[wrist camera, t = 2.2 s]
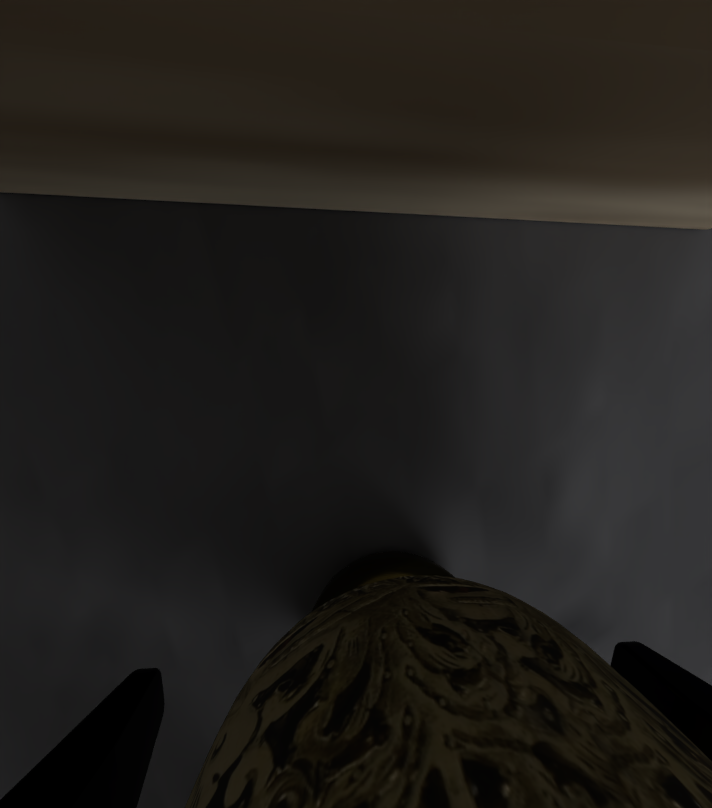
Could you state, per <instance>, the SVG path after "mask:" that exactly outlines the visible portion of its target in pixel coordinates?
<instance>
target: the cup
mask: <svg viewBox="0 0 712 808" xmlns="http://www.w3.org/2000/svg"><path fill="white" fill-rule="evenodd" d="M185 808H712V761H711V760H710V759H709V758H708V757H707V756H706V755H705V754H704V753H703V752H702V751H701V750H700V749H699V748H698V747H697V746H696V745H695V744H694V743H693V742H692V741H691V740H690V739H689V738H688V737H686V736H685V735H684V734H683V733H682V732H681V731H680V730H679V729H678V728H677V727H676V726H675V725H674V724H673V723H672V722H671V721H670V720H669V719H668V718H667V717H666V716H664V715H663V714H662V713H661V712H660V711H659V710H658V709H657V708H656V707H655V706H654V705H653V704H652V703H651V702H650V701H649V700H648V699H647V698H646V697H645V696H643V695H642V694H641V693H640V692H639V691H638V690H637V689H636V688H635V687H634V686H632V685H631V684H630V683H629V682H628V681H627V680H626V679H625V678H623V677H622V676H621V675H620V674H619V673H618V672H617V671H616V670H614V669H613V668H612V667H611V666H610V665H609V664H608V663H607V662H605V661H604V660H603V659H602V658H601V657H600V656H599V655H598V654H596V653H595V652H594V651H593V650H592V649H591V648H590V647H589V646H587V645H586V644H585V643H584V642H582V641H581V640H580V639H578V638H577V637H576V636H575V635H573V634H572V633H571V632H569V631H568V630H567V629H566V628H564V627H563V626H562V625H560V624H559V623H558V622H556V621H555V620H553V619H552V618H550V617H549V616H547V615H546V614H544V613H543V612H541V611H539V610H537V609H536V608H534V607H532V606H530V605H529V604H527V603H525V602H523V601H521V600H519V599H517V598H515V597H513V596H511V595H509V594H507V593H505V592H503V591H500V590H497V589H494V588H492V587H489V586H486V585H482V584H479V583H476V582H472V581H468V580H464V579H459V578H455V577H454V576H453V575H452V574H450V573H449V572H448V571H447V570H445V569H444V568H442V567H441V566H439V565H438V564H436V563H435V562H433V561H431V560H429V559H427V558H425V557H422V556H420V555H417V554H413V553H408V552H401V551H388V552H380V553H375V554H371V555H368V556H365V557H362V558H360V559H358V560H356V561H354V562H352V563H351V564H349V565H347V566H346V567H345V568H343V569H342V570H341V571H339V572H338V573H337V574H336V575H335V576H334V577H333V578H332V580H331V581H330V582H329V583H328V584H327V586H326V587H325V589H324V590H323V592H322V593H321V595H320V597H319V599H318V600H317V602H316V604H315V606H314V608H313V610H312V612H311V613H310V614H308V615H307V616H306V617H305V618H303V619H302V620H301V621H299V622H298V623H297V624H296V625H295V626H294V627H293V628H292V629H291V630H290V631H289V632H288V633H287V634H286V635H285V636H283V637H282V638H281V639H280V640H279V641H278V642H277V643H276V644H275V645H274V646H273V648H272V649H271V650H270V651H269V652H268V654H267V655H266V656H265V657H264V658H263V660H262V661H261V662H260V664H259V665H258V667H257V668H256V669H255V671H254V672H253V674H252V675H251V676H250V678H249V679H248V681H247V682H246V684H245V685H244V687H243V688H242V690H241V691H240V693H239V695H238V696H237V698H236V700H235V701H234V703H233V705H232V707H231V709H230V711H229V713H228V715H227V717H226V719H225V721H224V723H223V725H222V727H221V728H220V730H219V732H218V734H217V737H216V739H215V741H214V743H213V745H212V747H211V749H210V751H209V753H208V756H207V758H206V760H205V763H204V765H203V767H202V769H201V772H200V774H199V776H198V779H197V781H196V783H195V785H194V788H193V790H192V792H191V794H190V797H189V799H188V801H187V804H186V806H185Z"/></svg>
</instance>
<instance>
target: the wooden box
mask: <svg viewBox="0 0 712 808" xmlns="http://www.w3.org/2000/svg"><path fill="white" fill-rule="evenodd" d="M0 192H6V193H25V194H44V195H62V196H81V197H100V198H119V199H138V200H157V201H176V202H195V203H213V204H232V205H251V206H270V207H289V208H308V209H327V210H346V211H364V212H383V213H402V214H421V215H440V216H459V217H478V218H496V219H515V220H534V221H553V222H572V223H591V224H610V225H629V226H647V227H666V228H685V229H704V230H706V229H710V228H712V0H0Z"/></svg>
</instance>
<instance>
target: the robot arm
mask: <svg viewBox="0 0 712 808" xmlns="http://www.w3.org/2000/svg"><path fill="white" fill-rule="evenodd" d="M611 667H612V668H613V669H614V670H616V671H617V672H618V673H619V674H620V675H621V676H622V677H623V678H625V679H626V680H627V681H628V682H629V683H630V684H631V685H632V686H634V687H635V688H636V689H637V690H638V691H639V692H640V693H641V694H642V695H643V696H645V697H646V698H647V699H648V700H649V701H650V702H651V703H652V704H653V705H654V706H655V707H656V708H657V709H658V710H659V711H660V712H661V713H662V714H663V715H664V716H666V717H667V718H668V719H669V720H670V721H671V722H672V723H673V724H674V725H675V726H676V727H677V728H678V729H679V730H680V731H681V732H682V733H683V734H684V735H685V736H686V737H688V738H689V739H690V740H691V741H692V742H693V743H694V744H695V745H696V746H697V747H698V748H699V749H700V750H701V751H702V752H703V753H704V754H705V755H706V756H707V757H708V758H709V759H710V760H711V761H712V686H711V685H710V684H708V683H706V682H705V681H703V680H701V679H700V678H698V677H696V676H695V675H693V674H691V673H690V672H688V671H687V670H685V669H683V668H682V667H680V666H678V665H677V664H675V663H673V662H672V661H670V660H668V659H667V658H665V657H663V656H662V655H660V654H658V653H657V652H655V651H653V650H652V649H650V648H648V647H647V646H645V645H643V644H642V643H639V642H635V641H632V642H619V643H618V644H616V646H615V648H614V653H613V657H612V661H611ZM163 713H164V694H163V685H162V677H161V672H160V670H159V669H158V668H146V669H137V670H135V671H134V672H132V673H131V674H130V675H129V676H128V677H127V678H126V679H125V680H124V681H123V682H122V683H121V684H120V685H118V686H117V687H116V688H115V689H114V690H113V691H112V692H111V693H110V694H109V695H108V696H107V697H106V698H105V699H104V700H103V701H102V702H101V703H100V704H99V705H98V706H97V707H96V708H95V709H94V710H93V711H92V712H91V713H90V714H89V715H88V716H86V717H85V718H84V719H83V720H82V721H81V722H80V723H79V724H78V725H77V726H76V727H75V728H74V729H73V730H72V731H71V732H70V733H69V734H68V735H67V736H66V737H65V738H64V739H63V740H62V741H61V742H60V743H59V744H58V745H57V746H56V747H55V748H53V749H52V750H51V751H50V752H49V753H48V754H47V755H46V756H45V757H44V758H43V759H42V760H41V761H40V762H39V763H38V764H37V765H36V766H35V767H34V768H33V769H32V770H31V771H30V772H29V773H28V774H27V775H26V776H25V777H24V778H23V779H21V780H20V781H19V782H18V783H17V784H16V785H15V786H14V787H13V788H12V789H11V790H10V791H9V792H8V793H7V794H6V795H5V796H4V797H3V798H2V799H1V800H0V808H136V807H137V804H138V800H139V797H140V793H141V790H142V787H143V783H144V780H145V776H146V773H147V769H148V766H149V762H150V759H151V756H152V752H153V749H154V745H155V742H156V738H157V735H158V731H159V728H160V724H161V721H162V717H163Z"/></svg>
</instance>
